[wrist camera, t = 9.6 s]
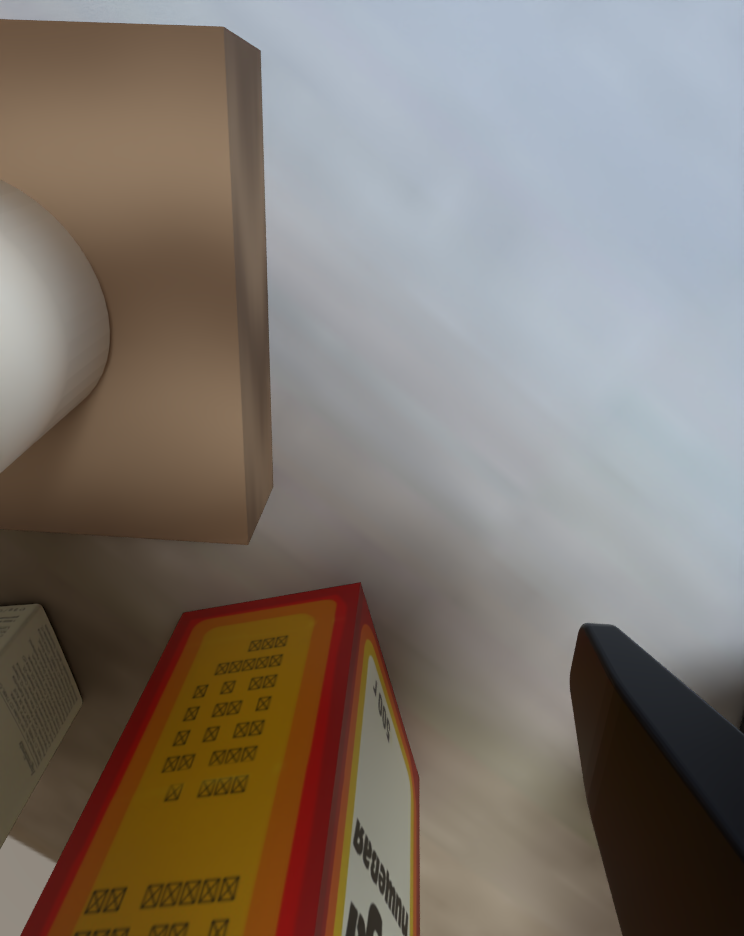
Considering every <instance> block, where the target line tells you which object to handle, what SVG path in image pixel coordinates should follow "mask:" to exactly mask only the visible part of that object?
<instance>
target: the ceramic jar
mask: <svg viewBox="0 0 744 936" xmlns="http://www.w3.org/2000/svg"><path fill="white" fill-rule="evenodd" d="M109 344H110V327H109V317H108V312H107V307H106V303H105V298H104V295H103V293H102V290H101V287H100V284H99V281H98V279H97V277H96V275H95V273H94V271H93V269H92V267H91V265H90V263H89V261H88V260H87V258H86V256H85V255H84V253H83V252H82V250H81V248H80V247H79V245H78V244H77V243H76V242H75V240H74V239H73V238H72V236H71V235H70V234H69V233H68V231H67V230H66V229H65V228H64V227H63V226H62V225H61V224H60V223H59V222H58V221H57V219H56V218H55V217H54V216H53V215H52V214H50V213H49V212H48V211H47V210H46V209H45V208H43V207H42V206H41V205H40V204H39V203H38V202H36V201H35V200H33V199H32V198H31V197H29V196H28V195H26V194H25V193H23V192H22V191H21V190H19V189H17V188H15V187H13V186H12V185H10V184H8V183H6V182H4V181H2V180H0V473H1V472H2V471H4V470H5V469H6V468H7V467H8V466H9V465H10V464H12V463H13V462H14V461H15V460H16V459H17V458H18V457H19V456H21V455H22V454H23V453H24V452H25V451H26V450H27V449H29V448H30V447H31V446H32V445H33V444H34V443H35V442H36V441H38V440H39V439H40V438H41V437H42V436H43V435H44V434H45V433H47V432H48V431H49V430H50V429H51V428H52V427H53V426H55V425H56V424H57V423H58V422H59V421H60V420H61V419H62V418H64V417H65V416H66V415H67V414H68V413H69V412H70V411H72V410H73V409H74V408H75V407H76V406H77V405H78V404H79V403H81V402H82V401H83V400H84V399H85V398H86V397H87V396H88V395H89V394H90V393H91V391H92V390H93V389H94V388H95V386H96V385H97V383H98V381H99V379H100V377H101V376H102V374H103V371H104V368H105V365H106V362H107V357H108V352H109Z"/></svg>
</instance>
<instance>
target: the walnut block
mask: <svg viewBox="0 0 744 936" xmlns="http://www.w3.org/2000/svg"><path fill="white" fill-rule="evenodd" d="M0 180H2V181H4V182H6V183H8V184H10V185H12V186H13V187H15V188H17V189H19V190H21V191H22V192H23V193H25V194H26V195H28V196H29V197H31V198H32V199H33V200H35V201H36V202H38V203H39V204H40V205H41V206H42V207H43V208H45V209H46V210H47V211H48V212H49V213H50V214H52V215H53V216H54V217H55V218H56V219H57V221H58V222H59V223H60V224H61V225H62V226H63V227H64V228H65V229H66V230H67V231H68V233H69V234H70V235H71V236H72V238H73V239H74V240H75V242H76V243H77V244H78V245H79V247H80V248H81V250H82V252H83V253H84V255H85V256H86V258H87V260H88V261H89V263H90V265H91V267H92V269H93V271H94V273H95V275H96V277H97V279H98V281H99V284H100V287H101V290H102V293H103V295H104V298H105V303H106V307H107V312H108V317H109V327H110V344H109V352H108V357H107V362H106V365H105V368H104V371H103V374H102V376H101V377H100V379H99V381H98V383H97V385H96V386H95V388H94V389H93V390H92V391H91V393H90V394H89V395H88V396H87V397H86V398H85V399H84V400H83V401H82V402H81V403H79V404H78V405H77V406H76V407H75V408H74V409H73V410H72V411H70V412H69V413H68V414H67V415H66V416H65V417H64V418H62V419H61V420H60V421H59V422H58V423H57V424H56V425H55V426H53V427H52V428H51V429H50V430H49V431H48V432H47V433H45V434H44V435H43V436H42V437H41V438H40V439H39V440H38V441H36V442H35V443H34V444H33V445H32V446H31V447H30V448H29V449H27V450H26V451H25V452H24V453H23V454H22V455H21V456H19V457H18V458H17V459H16V460H15V461H14V462H13V463H12V464H10V465H9V466H8V467H7V468H6V469H5V470H4V471H2V472H1V473H0V529H5V530H21V531H36V532H52V533H68V534H84V535H99V536H115V537H131V538H146V539H162V540H178V541H194V542H209V543H225V544H241V545H248V544H249V542H250V540H251V537H252V535H253V533H254V530H255V528H256V526H257V523H258V521H259V519H260V516H261V514H262V512H263V509H264V507H265V505H266V502H267V500H268V498H269V495H270V493H271V491H272V488H273V463H272V428H271V394H270V359H269V325H268V290H267V256H266V221H265V187H264V152H263V118H262V83H261V50H259V49H257V48H256V47H254V46H253V45H251V44H250V43H248V42H246V41H245V40H243V39H242V38H240V37H239V36H237V35H236V34H234V33H232V32H231V31H229V30H228V29H226V28H225V27H216V26H186V25H156V24H126V23H96V22H67V21H37V20H7V19H0Z"/></svg>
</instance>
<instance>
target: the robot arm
mask: <svg viewBox="0 0 744 936" xmlns="http://www.w3.org/2000/svg"><path fill="white" fill-rule="evenodd" d="M570 692H571V699H572V706H573V712H574V719H575V726H576V733H577V739H578V746H579V753H580V760H581V766H582V773H583V780H584V786H585V792H586V798H587V803H588V807H589V811H590V815H591V820H592V823H593V827H594V831H595V835H596V838H597V842H598V846H599V850H600V853H601V857H602V861H603V865H604V868H605V872H606V876H607V879H608V883H609V887H610V891H611V894H612V898H613V902H614V906H615V909H616V913H617V917H618V920H619V924H620V928H621V932H622V935H623V936H744V718H743V721H742V724H741V726H740V729H739V730H738V729H737V728H736V727H735V726H734V725H732V724H731V723H730V722H729V721H728V720H726V719H725V718H724V717H723V716H722V715H720V714H719V713H718V712H717V711H716V710H715V709H713V708H712V707H711V706H710V705H709V704H707V703H706V702H705V701H704V700H703V699H702V698H700V697H699V696H698V695H697V694H696V693H694V692H693V691H692V690H691V689H690V688H688V687H687V686H686V685H685V684H684V683H683V682H681V681H680V680H679V679H678V678H677V677H675V676H674V675H673V674H672V673H671V672H670V671H668V670H667V669H666V668H665V667H664V666H662V665H661V664H660V663H659V662H658V661H657V660H655V659H654V658H653V657H652V656H651V655H649V654H648V653H647V652H646V651H645V650H643V649H642V648H641V647H640V646H639V645H638V644H636V643H635V642H634V641H633V640H632V639H630V638H629V637H628V636H627V635H626V634H625V633H623V632H622V631H621V630H620V629H619V628H617V627H616V626H614V625H610V624H595V623H585V624H583V625H582V626H581V627H580V629H579V632H578V636H577V641H576V646H575V651H574V656H573V661H572V666H571V671H570Z"/></svg>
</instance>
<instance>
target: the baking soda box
mask: <svg viewBox="0 0 744 936" xmlns="http://www.w3.org/2000/svg"><path fill="white" fill-rule="evenodd" d="M21 936H420V854H419V775H418V772H417V769H416V765H415V762H414V759H413V755H412V752H411V749H410V745H409V742H408V739H407V735H406V732H405V729H404V725H403V722H402V719H401V715H400V712H399V709H398V705H397V702H396V699H395V695H394V692H393V689H392V685H391V682H390V679H389V675H388V672H387V669H386V665H385V662H384V659H383V655H382V652H381V649H380V645H379V642H378V639H377V635H376V632H375V629H374V625H373V622H372V619H371V615H370V612H369V609H368V605H367V602H366V599H365V595H364V592H363V589H362V585H361V582H360V583H354V584H348V585H342V586H337V587H331V588H325V589H319V590H313V591H307V592H302V593H296V594H290V595H284V596H278V597H272V598H266V599H261V600H255V601H249V602H243V603H237V604H231V605H226V606H220V607H214V608H208V609H202V610H196V611H190V612H185V613H183V614H182V616H181V618H180V620H179V622H178V624H177V626H176V628H175V630H174V632H173V634H172V636H171V638H170V640H169V642H168V644H167V646H166V648H165V650H164V652H163V654H162V656H161V658H160V660H159V662H158V664H157V666H156V668H155V670H154V672H153V674H152V676H151V678H150V680H149V682H148V684H147V686H146V687H145V689H144V691H143V693H142V695H141V697H140V699H139V701H138V703H137V705H136V707H135V709H134V711H133V713H132V715H131V717H130V719H129V721H128V723H127V725H126V727H125V729H124V731H123V733H122V735H121V737H120V739H119V741H118V743H117V745H116V747H115V749H114V751H113V753H112V755H111V757H110V759H109V761H108V763H107V765H106V767H105V769H104V771H103V773H102V775H101V777H100V779H99V781H98V783H97V785H96V787H95V789H94V791H93V793H92V795H91V797H90V799H89V801H88V803H87V804H86V806H85V808H84V810H83V812H82V814H81V816H80V818H79V820H78V822H77V824H76V826H75V828H74V830H73V832H72V834H71V836H70V838H69V840H68V842H67V844H66V846H65V848H64V850H63V852H62V854H61V856H60V858H59V860H58V862H57V864H56V866H55V868H54V870H53V872H52V874H51V876H50V878H49V880H48V882H47V884H46V886H45V888H44V890H43V892H42V894H41V896H40V898H39V900H38V902H37V904H36V906H35V908H34V910H33V912H32V914H31V916H30V918H29V920H28V921H27V924H26V925H25V927H24V929H23V931H22V933H21Z"/></svg>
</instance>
